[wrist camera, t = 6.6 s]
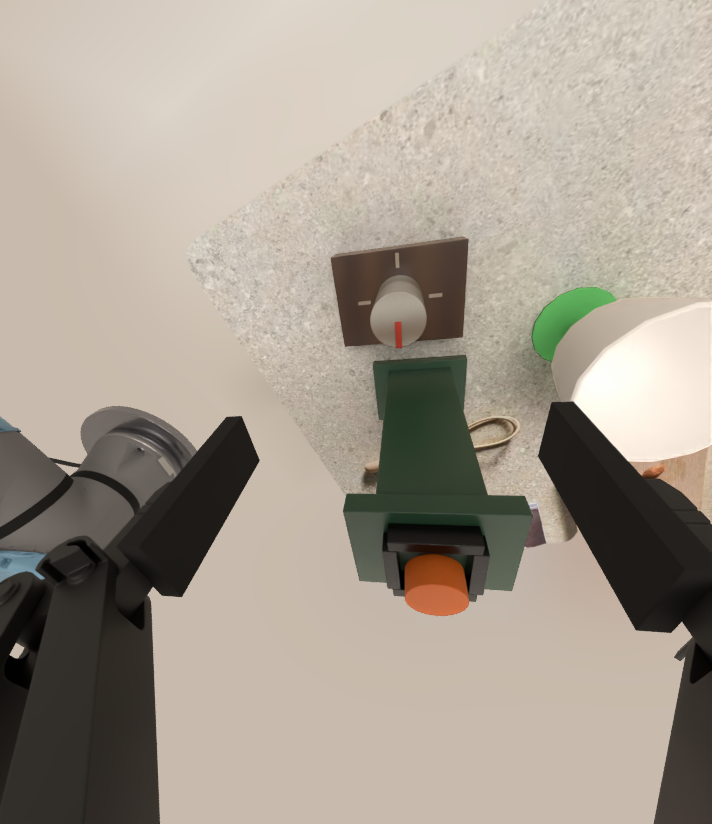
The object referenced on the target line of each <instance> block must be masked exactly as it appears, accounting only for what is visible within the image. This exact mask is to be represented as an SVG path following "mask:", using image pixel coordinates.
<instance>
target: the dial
mask: <svg viewBox="0 0 712 824" xmlns="http://www.w3.org/2000/svg"><path fill="white" fill-rule="evenodd" d="M426 321H427V315H426V310H425V305H424V300H423V295H422V291H421V288H420V286H419V284H418V283H417V282H416V281H415V280H414V279H412V278H411V277H409V276H405V275H396V276H393V277H390V278H389V279H387V280H386V281H385V282H384V283H383V284H382V285H381V287H380V289H379V291H378V294H377V297H376V300H375V303H374V306H373V309H372V312H371V316H370V324H371V328H372V331H373V333H374V335H375V336H376V338H377V339H378V340H379V341H381V342H382V343H384V344H385V345H388V346H391V347H396V348H402V347H404V346H407V345H410V344H412V343H413V342H415V341H416V340H417V339H418V338H419V337H420V336H421V334H422V333H423V331H424V329H425V326H426Z"/></svg>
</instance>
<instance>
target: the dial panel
mask: <svg viewBox="0 0 712 824" xmlns="http://www.w3.org/2000/svg"><path fill="white" fill-rule="evenodd" d="M467 255H468V239H467V238H465V237H457V238H450V239H443V240H436V241H428V242H421V243H414V244H407V245H400V246H392V247H385V248H378V249H371V250H364V251H356V252H349V253H342V254H336V255H334V256H333V257H331V263H332V269H333V276H334V282H335V288H336V294H337V300H338V307H339V313H340V319H341V325H342V332H343V338H344V344H345V347H346V346H359V345H371V344H384V343H382V342H381V341H379V340H378V339H377V338H376V336H375V335H374V333H373V331H372V328H371V324H370V316H371V312H372V309H373V306H374V303H375V300H376V297H377V294H378V291H379V289H380V287H381V285H382V284H383V283H384V282H385V281H386V280H387V279H389V278H390V277H393V276H396V275H405V276H409V277H411V278H412V279H414V280H415V281H416V282H417V283H418V284H419V286H420V288H421V291H422V295H423V300H424V305H425V310H426V315H427V321H426V326H425V329H424V331H423V333H422V334H421V336H420V337H419V338H418V339H417V340H416V341H421V340H434V339H446V338H459V337H463V323H464V306H465V289H466V272H467Z"/></svg>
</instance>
